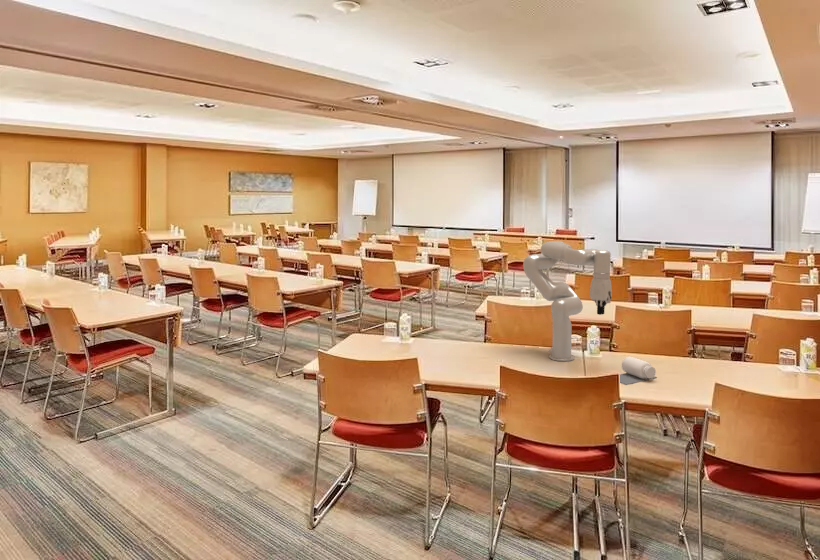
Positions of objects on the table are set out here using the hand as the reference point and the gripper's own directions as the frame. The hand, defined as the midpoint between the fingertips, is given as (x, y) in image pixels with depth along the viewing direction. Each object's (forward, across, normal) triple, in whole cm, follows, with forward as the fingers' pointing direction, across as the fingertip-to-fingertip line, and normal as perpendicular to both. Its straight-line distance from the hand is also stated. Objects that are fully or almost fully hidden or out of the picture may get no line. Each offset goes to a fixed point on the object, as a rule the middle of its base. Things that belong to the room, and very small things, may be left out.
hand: (600, 314), depth 282 cm
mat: (+27, +19, 0) cm, 33 cm away
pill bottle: (+23, +13, +5) cm, 26 cm away
